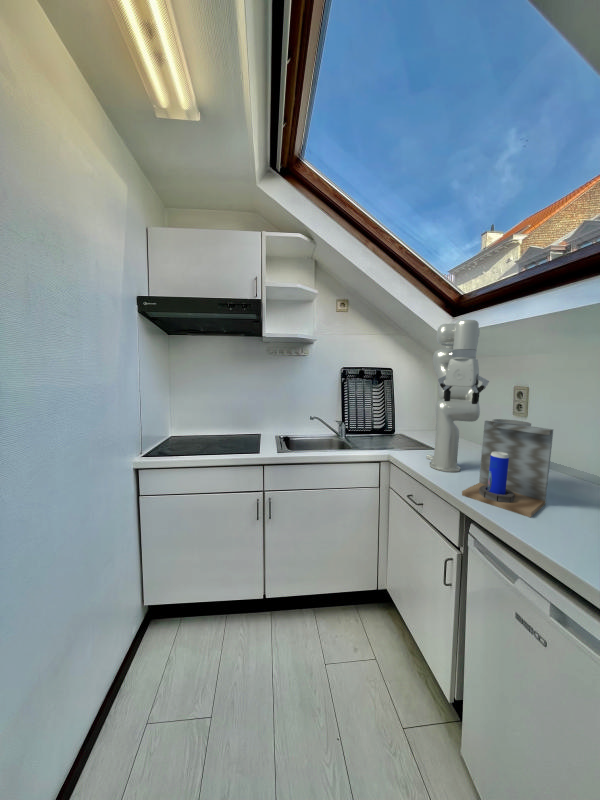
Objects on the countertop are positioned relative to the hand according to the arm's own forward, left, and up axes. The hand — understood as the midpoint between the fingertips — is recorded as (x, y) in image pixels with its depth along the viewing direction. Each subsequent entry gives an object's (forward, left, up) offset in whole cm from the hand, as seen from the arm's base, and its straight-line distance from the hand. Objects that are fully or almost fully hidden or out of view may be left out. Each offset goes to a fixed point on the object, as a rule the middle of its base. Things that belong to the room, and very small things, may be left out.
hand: (460, 402), depth 110 cm
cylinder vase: (+10, +22, -32) cm, 40 cm away
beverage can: (+14, +1, -31) cm, 34 cm away
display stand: (+15, +4, -32) cm, 36 cm away
